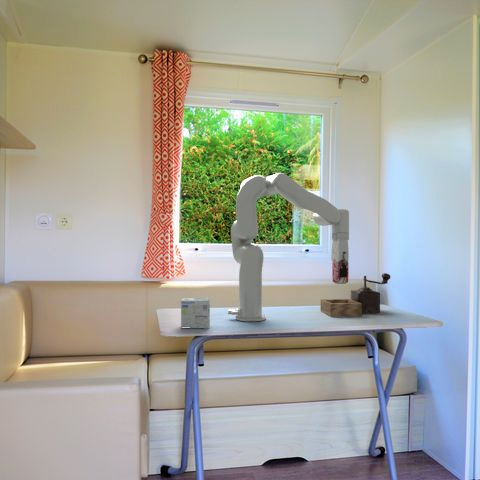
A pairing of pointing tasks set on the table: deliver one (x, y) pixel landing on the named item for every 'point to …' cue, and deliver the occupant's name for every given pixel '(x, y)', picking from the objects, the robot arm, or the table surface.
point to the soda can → (338, 273)
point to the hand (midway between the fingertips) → (340, 276)
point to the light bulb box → (195, 312)
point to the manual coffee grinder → (369, 296)
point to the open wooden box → (341, 307)
